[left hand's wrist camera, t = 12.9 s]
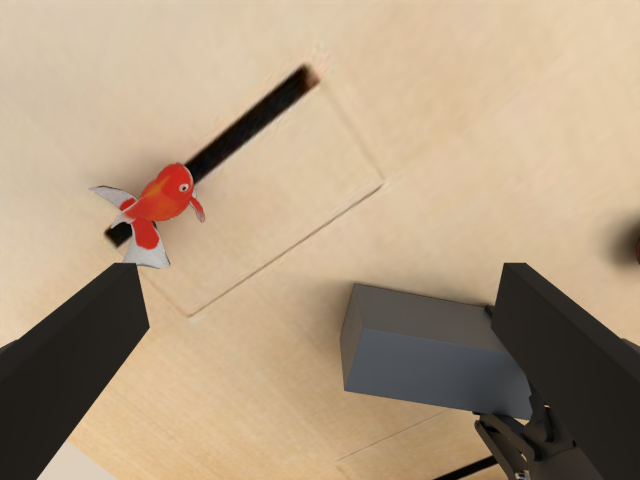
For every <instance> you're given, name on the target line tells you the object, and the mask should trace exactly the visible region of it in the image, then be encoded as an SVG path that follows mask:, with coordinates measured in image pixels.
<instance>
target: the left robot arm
mask: <svg viewBox="0 0 640 480" xmlns="http://www.w3.org/2000/svg"><path fill="white" fill-rule="evenodd" d="M149 328H150V326H149V322H148V317H147V312H146V308H145V303H144V298H143V293H142V289H141V284H140V279H139V275H138V270H137V265H136V263H114V264H112V265H111V266H110V267H109V268H107V269H106V270H105V271H104V272H102V273H101V274H100V275H99V276H97V277H96V278H95V279H94V280H92V281H91V282H90V283H89V284H87V285H86V286H85V287H84V288H82V289H81V290H80V291H78V292H77V293H76V294H75V295H73V296H72V297H71V298H70V299H68V300H67V301H66V302H65V303H63V304H62V305H61V306H60V307H58V308H57V309H56V310H55V311H53V312H52V313H51V314H50V315H48V316H47V317H46V318H45V319H43V320H42V321H41V322H40V323H38V324H37V325H36V326H35V327H33V328H32V329H31V330H30V331H28V332H27V333H26V334H25V335H23V336H22V337H21V338H19V339H18V340H15V341H13V342H11V343H9V344H7V345H5V346H3V347H1V348H0V480H37V478H38V477H39V475H40V474H41V473H42V471H43V470H44V469H45V467H46V466H47V465H48V463H49V462H50V461H51V459H52V458H53V457H54V455H55V454H56V453H57V451H58V450H59V449H60V447H61V446H62V445H63V443H64V442H65V441H66V439H67V438H68V437H69V435H70V434H71V433H72V431H73V430H74V429H75V427H76V426H77V425H78V423H79V422H80V420H81V419H82V418H83V416H84V415H85V414H86V412H87V411H88V410H89V408H90V407H91V406H92V404H93V403H94V402H95V400H96V399H97V398H98V396H99V395H100V394H101V392H102V391H103V390H104V388H105V387H106V386H107V384H108V383H109V382H110V380H111V379H112V378H113V376H114V375H115V374H116V372H117V371H118V369H119V368H120V367H121V365H122V364H123V363H124V361H125V360H126V359H127V357H128V356H129V355H130V353H131V352H132V351H133V349H134V348H135V347H136V345H137V344H138V343H139V341H140V340H141V339H142V337H143V336H144V335H145V333H146V332H147V331H148V329H149ZM490 328H491V329H492V331H493V332H494V333H495V335H496V336H497V337H498V339H499V340H500V341H501V343H502V344H503V345H504V347H505V348H506V349H507V351H508V352H509V353H510V355H511V356H512V357H513V359H514V360H515V361H516V363H517V364H518V365H519V367H520V368H521V369H522V371H523V372H524V374H525V375H526V376H527V378H528V379H529V380H530V382H531V383H532V384H533V386H534V387H535V388H536V390H537V391H538V392H539V394H540V395H541V396H542V398H543V399H544V400H545V402H546V403H547V404H548V406H549V407H550V408H551V410H552V411H553V412H554V414H555V415H556V416H557V418H558V419H559V420H560V422H561V423H562V425H563V426H564V427H565V429H566V430H567V431H568V433H569V434H570V435H571V437H572V438H573V439H574V441H575V442H576V443H577V445H578V446H579V447H580V449H581V450H582V451H583V453H584V454H585V455H586V457H587V458H588V459H589V461H590V462H591V463H592V465H593V466H594V467H595V469H596V470H597V471H598V473H599V474H600V476H601V477H602V478H603V480H640V346H638V345H636V344H634V343H632V342H630V341H628V340H626V339H621V338H619V337H618V336H617V335H615V334H614V333H613V332H612V331H610V330H609V329H608V328H607V327H605V326H604V325H603V324H602V323H600V322H599V321H598V320H597V319H595V318H594V317H593V316H592V315H590V314H589V313H588V312H587V311H585V310H584V309H583V308H582V307H580V306H579V305H578V304H577V303H575V302H574V301H573V300H572V299H570V298H569V297H568V296H567V295H565V294H564V293H563V292H562V291H560V290H559V289H558V288H556V287H555V286H554V285H553V284H551V283H550V282H549V281H548V280H546V279H545V278H544V277H543V276H541V275H540V274H539V273H538V272H536V271H535V270H534V269H533V268H531V267H530V266H529V265H528V264H526V263H504V265H503V270H502V275H501V279H500V284H499V289H498V293H497V298H496V303H495V308H494V312H493V317H492V322H491V326H490Z"/></svg>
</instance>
